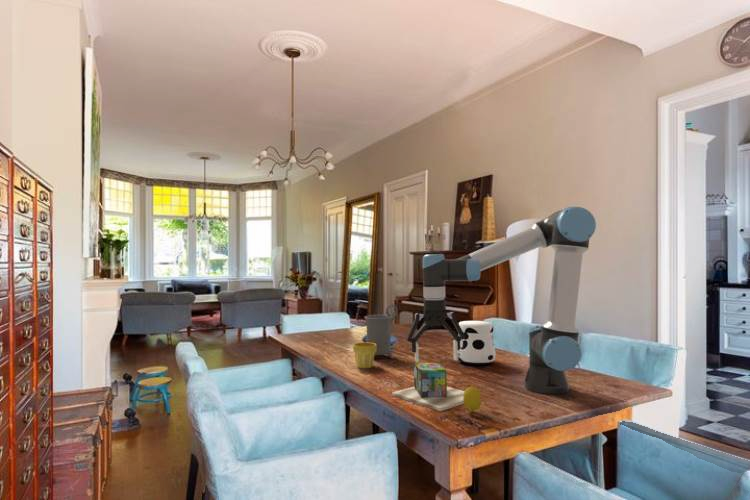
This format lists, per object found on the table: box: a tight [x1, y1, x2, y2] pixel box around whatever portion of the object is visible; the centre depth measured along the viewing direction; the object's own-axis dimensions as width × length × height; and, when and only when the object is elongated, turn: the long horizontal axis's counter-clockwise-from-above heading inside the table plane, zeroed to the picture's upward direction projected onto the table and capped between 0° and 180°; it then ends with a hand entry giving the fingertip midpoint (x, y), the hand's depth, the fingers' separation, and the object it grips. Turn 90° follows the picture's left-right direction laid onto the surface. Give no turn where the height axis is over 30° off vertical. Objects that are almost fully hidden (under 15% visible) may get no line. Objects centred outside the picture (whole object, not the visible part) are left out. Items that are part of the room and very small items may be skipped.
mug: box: [364, 304, 398, 360], centre depth 221 cm, size 19×15×25 cm
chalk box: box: [413, 362, 448, 398], centre depth 157 cm, size 9×9×15 cm
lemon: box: [463, 385, 483, 413], centre depth 141 cm, size 6×6×8 cm
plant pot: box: [352, 341, 377, 369], centre depth 201 cm, size 10×10×10 cm
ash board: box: [391, 386, 465, 412], centre depth 157 cm, size 22×20×1 cm
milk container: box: [457, 320, 497, 366], centre depth 208 cm, size 17×17×18 cm
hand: (436, 360), depth 157 cm, fingers open, 13 cm apart
